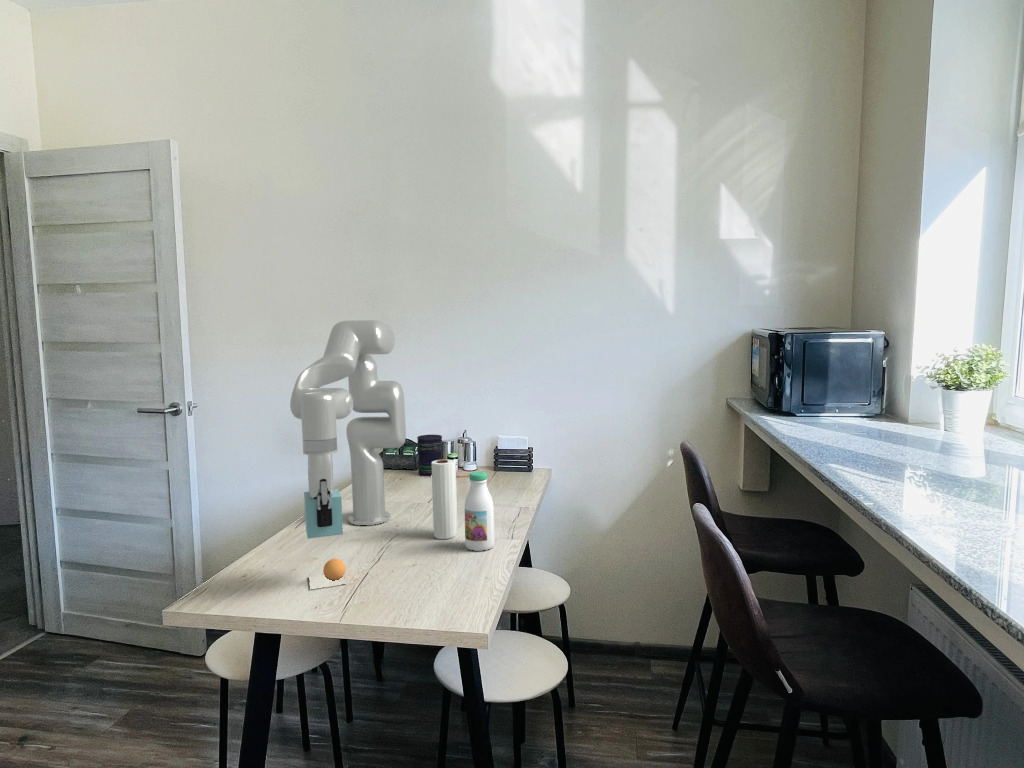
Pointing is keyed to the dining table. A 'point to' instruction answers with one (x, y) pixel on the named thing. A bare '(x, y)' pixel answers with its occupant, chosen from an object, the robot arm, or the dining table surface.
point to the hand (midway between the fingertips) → (323, 520)
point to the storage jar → (428, 452)
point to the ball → (334, 569)
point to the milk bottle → (479, 514)
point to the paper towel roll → (444, 498)
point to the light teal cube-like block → (311, 516)
